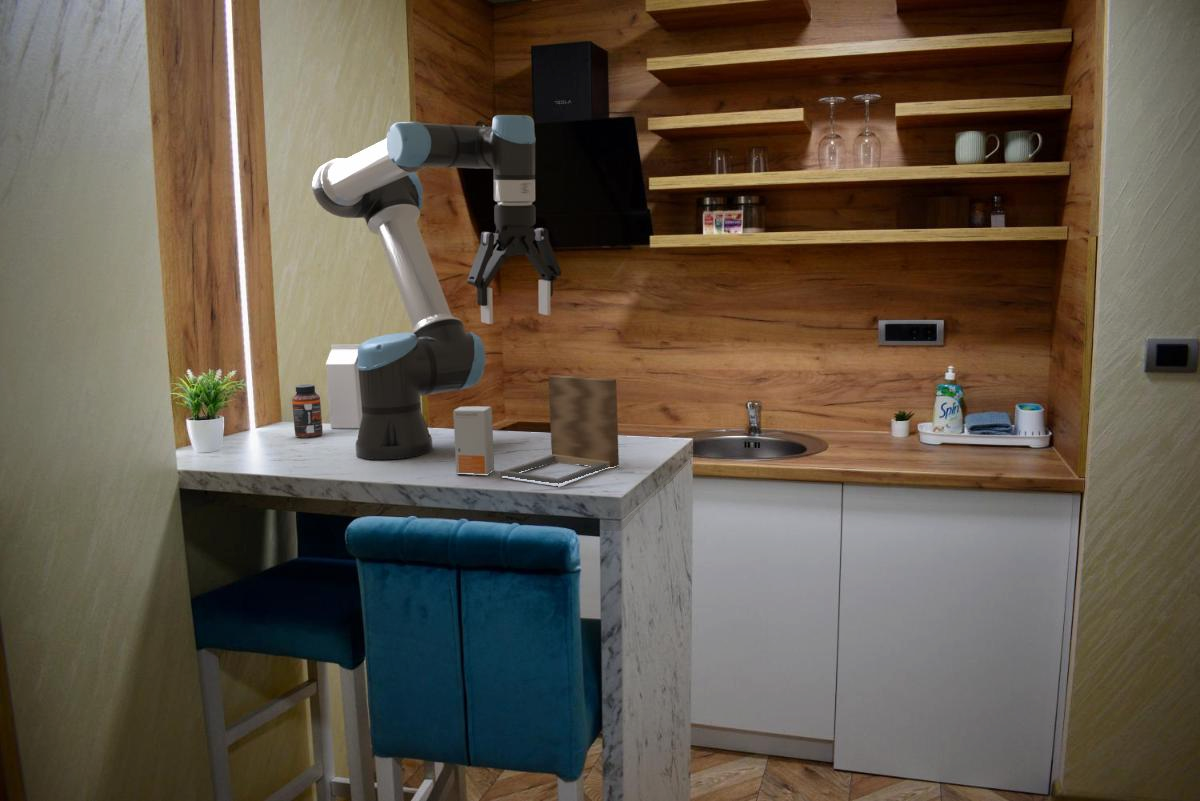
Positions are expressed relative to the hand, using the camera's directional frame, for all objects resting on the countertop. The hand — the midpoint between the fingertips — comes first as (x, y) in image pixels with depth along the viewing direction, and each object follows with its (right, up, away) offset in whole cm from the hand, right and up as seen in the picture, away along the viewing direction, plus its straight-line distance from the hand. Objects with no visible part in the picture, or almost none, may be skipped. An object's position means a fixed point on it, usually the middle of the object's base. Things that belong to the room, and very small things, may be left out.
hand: (516, 318), depth 176 cm
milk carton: (-42, -22, +41) cm, 62 cm away
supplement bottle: (-49, -23, +32) cm, 63 cm away
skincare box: (-7, -29, -7) cm, 30 cm away
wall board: (+13, -27, -2) cm, 30 cm away
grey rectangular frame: (+8, -28, -9) cm, 31 cm away
